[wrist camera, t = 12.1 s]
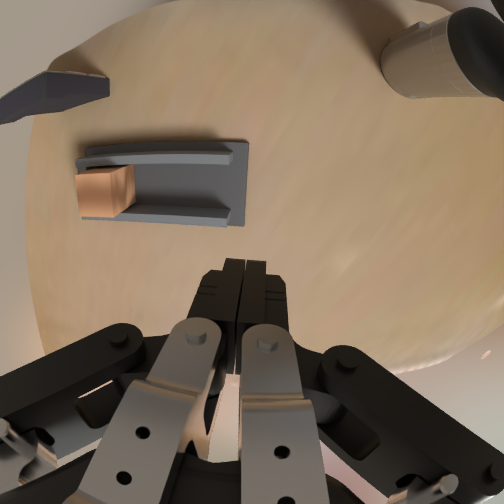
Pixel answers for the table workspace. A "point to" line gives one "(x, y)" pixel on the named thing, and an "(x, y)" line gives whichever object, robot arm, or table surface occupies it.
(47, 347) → the table surface
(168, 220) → the chute
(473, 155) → the table surface
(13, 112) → the dark grey upright box
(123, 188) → the block
